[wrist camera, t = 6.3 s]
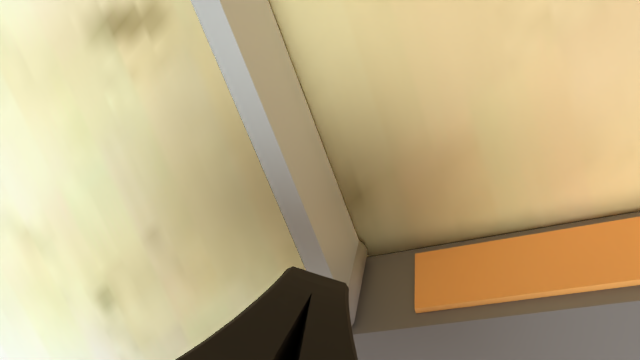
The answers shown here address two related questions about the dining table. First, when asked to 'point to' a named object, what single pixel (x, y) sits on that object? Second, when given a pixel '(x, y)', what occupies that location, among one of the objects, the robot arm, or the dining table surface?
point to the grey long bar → (284, 137)
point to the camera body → (507, 297)
